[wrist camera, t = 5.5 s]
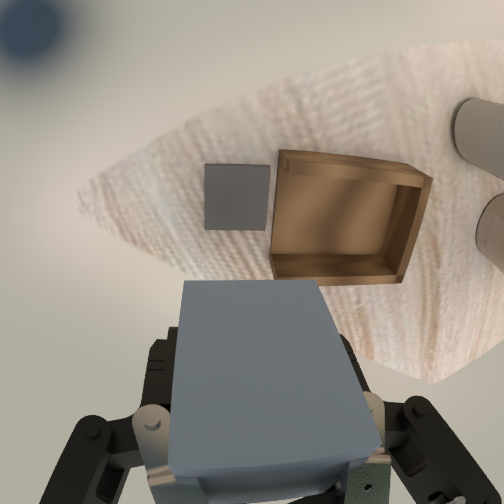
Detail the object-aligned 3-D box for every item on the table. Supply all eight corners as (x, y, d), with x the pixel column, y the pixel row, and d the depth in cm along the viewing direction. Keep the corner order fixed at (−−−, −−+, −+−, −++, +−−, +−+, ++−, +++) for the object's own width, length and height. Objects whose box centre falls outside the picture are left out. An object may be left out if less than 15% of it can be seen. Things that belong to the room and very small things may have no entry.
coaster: (269, 165, 25) (270, 167, 25) (264, 227, 28) (265, 230, 28) (205, 163, 25) (204, 165, 24) (205, 227, 28) (205, 229, 27)
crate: (407, 164, 26) (432, 178, 22) (383, 259, 31) (401, 283, 28) (279, 149, 25) (289, 161, 21) (269, 259, 30) (275, 286, 26)
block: (314, 279, 12) (382, 443, 6) (295, 360, 14) (328, 491, 8) (184, 280, 11) (167, 466, 5) (193, 364, 14) (192, 504, 8)
